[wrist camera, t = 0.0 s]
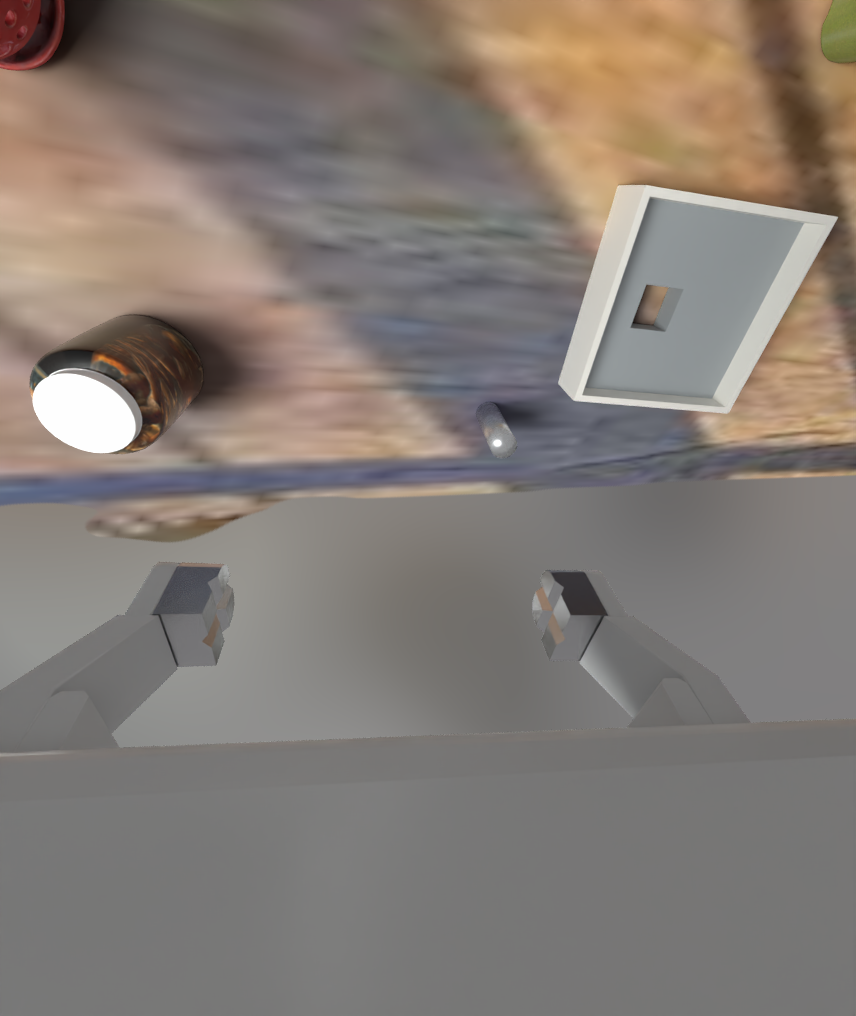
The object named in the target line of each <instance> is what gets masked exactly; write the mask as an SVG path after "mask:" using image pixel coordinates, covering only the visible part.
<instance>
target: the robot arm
mask: <svg viewBox="0 0 856 1016" xmlns="http://www.w3.org/2000/svg"><path fill="white" fill-rule="evenodd" d="M229 577H230V574H229V569H228V566H227V565H225V564H205V563H172V562H159V563H157V564H156V565H154V566H153V568H152V569H151V571H150V573H149V575H148V576H147V578H146V580H145V581H144V583H143V585H142V586H141V588H140V590H139V592H138V593H137V595H136V597H135V598H134V600H133V602H132V603H131V605H130V607H129V608H128V610H127V612H126V613H125V615H117V616H115V617H114V618H112V619H111V620H109V621H107V622H106V623H104V624H103V625H101V626H100V627H98V628H97V629H95V630H94V631H92V632H90V633H89V634H87V635H86V636H84V637H83V638H81V639H79V640H78V641H76V642H75V643H73V644H72V645H70V646H68V647H67V648H65V649H64V650H62V651H61V652H59V653H58V654H56V655H54V656H53V657H51V658H50V659H48V660H47V661H45V662H44V663H42V664H40V665H39V666H37V667H36V668H34V669H33V670H31V671H29V672H28V673H26V674H25V675H23V676H22V677H20V678H19V679H17V680H15V681H14V682H12V683H11V684H9V685H8V686H6V687H5V688H3V689H2V690H0V1016H856V719H833V720H812V721H811V720H808V721H783V722H759V723H751V722H750V721H749V719H748V718H747V717H746V715H745V714H744V712H743V711H742V710H741V708H740V707H739V705H738V704H737V703H736V701H735V699H734V698H733V697H732V695H731V694H730V693H729V691H728V690H727V688H726V687H725V685H724V684H723V682H722V681H721V680H720V678H719V677H718V676H717V675H716V674H714V673H713V672H711V671H710V670H709V669H707V668H706V667H704V666H703V665H701V664H700V663H698V662H697V661H696V660H694V659H693V658H692V657H690V656H689V655H687V654H686V653H685V652H683V651H682V650H680V649H679V648H677V647H676V646H674V645H673V644H672V643H670V642H669V641H668V640H666V639H665V638H663V637H662V636H660V635H659V634H658V633H656V632H655V631H653V630H652V629H650V628H649V627H648V626H646V625H645V624H643V623H642V622H641V621H639V620H638V619H636V618H635V617H634V616H628V615H627V613H626V612H625V610H624V608H623V607H622V605H621V604H620V602H619V600H618V598H617V597H616V595H615V594H614V592H613V590H612V588H611V587H610V585H609V583H608V582H607V580H606V578H605V577H604V575H603V574H602V573H601V572H600V571H589V570H588V571H587V570H582V571H577V570H574V571H571V570H570V571H569V570H567V571H566V570H546V571H545V572H544V573H543V574H542V576H541V579H540V582H541V584H542V587H541V588H540V589H539V590H537V591H536V592H535V595H534V598H533V604H532V612H533V618H534V621H535V624H536V626H537V627H538V628H539V629H541V630H542V631H543V632H544V634H543V637H542V639H541V640H542V643H543V645H544V648H545V651H546V653H547V656H548V658H549V661H580V662H579V663H580V664H581V665H582V666H583V667H584V668H585V669H586V670H587V671H588V672H589V673H590V674H591V675H592V676H593V677H594V679H596V680H597V682H598V683H599V684H600V685H602V687H603V688H604V689H605V690H606V691H607V692H608V693H609V694H610V695H611V696H612V697H613V698H614V699H615V700H616V701H617V702H618V703H619V704H620V705H621V706H622V707H623V708H624V709H625V710H626V711H627V712H628V714H629V715H630V716H631V717H632V718H633V720H632V721H631V723H630V724H629V725H628V726H627V728H605V729H581V730H557V731H556V730H554V731H531V732H530V731H529V732H504V733H479V734H454V735H429V736H403V737H378V738H353V739H329V740H302V741H277V742H252V743H226V744H202V745H201V744H200V745H176V746H151V747H150V746H149V747H124V748H119V746H118V744H117V743H116V741H115V739H114V738H113V736H112V734H111V733H112V732H113V731H114V730H116V729H117V728H118V726H119V725H121V724H122V723H123V722H124V721H125V720H126V719H127V718H128V717H129V716H130V715H131V714H132V713H133V712H134V711H135V710H136V709H137V708H138V707H139V706H140V705H141V704H142V703H143V702H144V701H145V700H146V699H147V698H148V697H149V696H150V695H151V694H152V693H153V692H155V691H156V690H157V689H158V688H159V687H160V686H161V685H162V684H163V683H164V682H165V681H166V680H167V679H168V678H169V677H170V676H171V675H172V674H173V673H174V672H175V671H176V670H177V667H187V666H213V665H216V664H217V662H218V659H219V656H220V653H221V650H222V647H223V643H224V638H223V634H222V632H223V631H224V630H225V629H227V628H228V627H229V626H230V622H231V620H232V616H233V610H234V593H233V588H231V587H230V586H229V585H228V584H227V583H228V580H229Z"/></svg>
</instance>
